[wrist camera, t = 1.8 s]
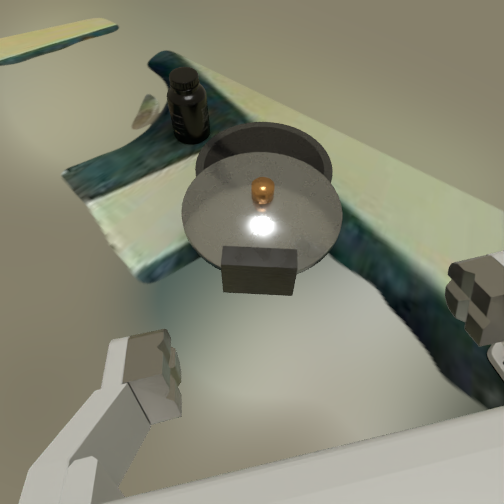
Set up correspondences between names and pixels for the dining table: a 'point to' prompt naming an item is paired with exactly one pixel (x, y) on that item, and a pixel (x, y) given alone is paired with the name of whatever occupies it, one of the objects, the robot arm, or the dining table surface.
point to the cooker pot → (265, 145)
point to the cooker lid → (261, 220)
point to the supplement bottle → (188, 106)
